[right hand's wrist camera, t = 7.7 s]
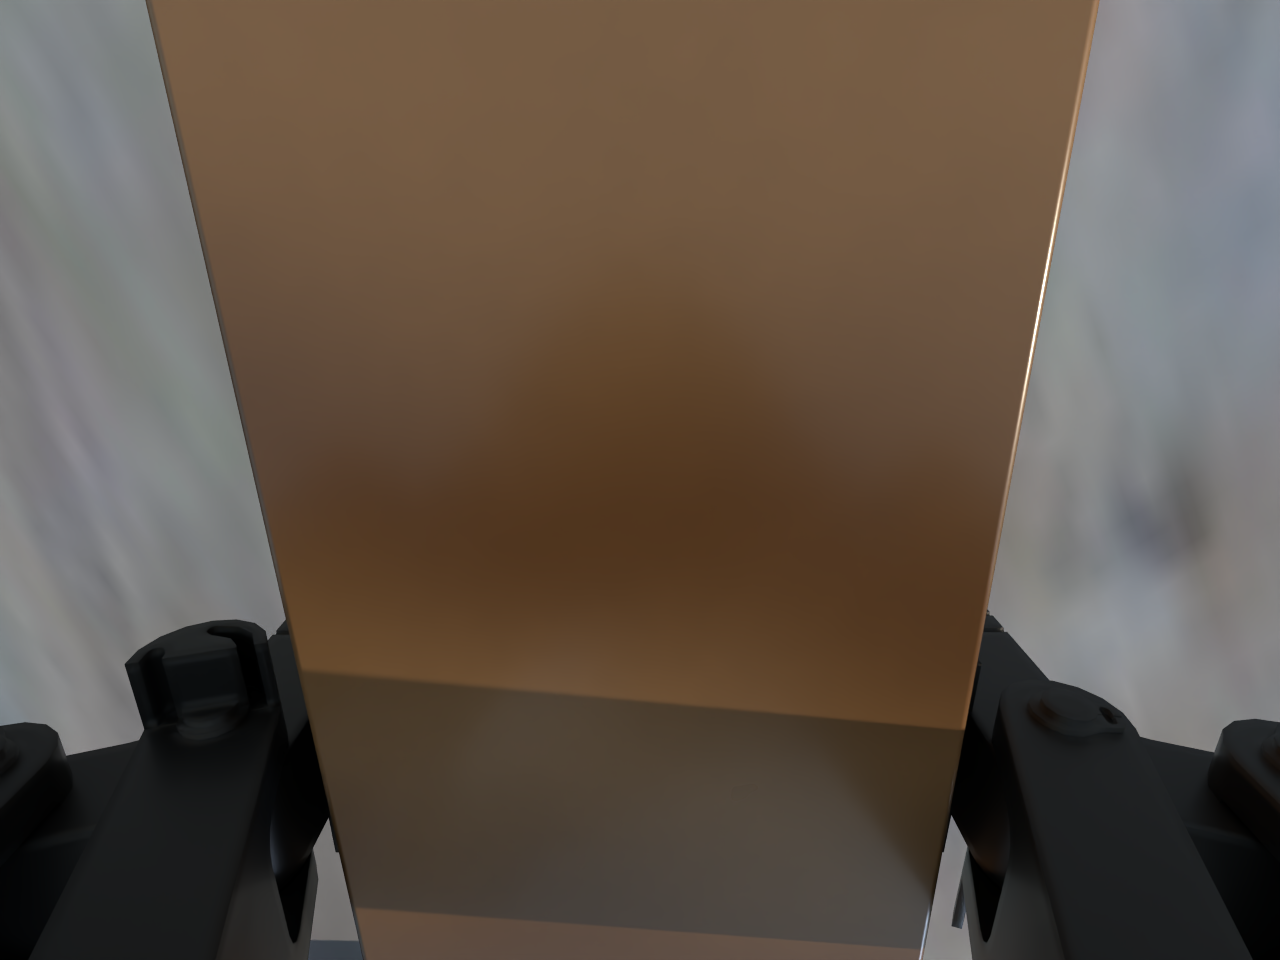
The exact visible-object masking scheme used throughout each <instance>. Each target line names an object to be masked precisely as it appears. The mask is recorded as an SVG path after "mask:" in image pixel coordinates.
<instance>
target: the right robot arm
mask: <svg viewBox="0 0 1280 960" xmlns="http://www.w3.org/2000/svg"><path fill="white" fill-rule="evenodd" d="M125 667H126V671H127V674H128V677H129V680H130V684H131V687H132V690H133V694H134V697H135V700H136V703H137V707H138V710H139V713H140V716H141V720H142V723H143V726H144V732H143V734H142V736H141V738H140V740H138V741H134V742H131V743H126V744H122V745H117V746H112V747H107V748H102V749H97V750H92V751H87V752H83V753H78V754H73V755H68V756H66V754H65V752H64V749H63V746H62V743H61V741H60V738H59V735H58V733H57V732H56V731H55V730H53V729H52V728H50V727H49V726H48V725H46V724H37V723H27V722H24V723H17V724H10V725H4V726H0V960H308V954H309V946H310V939H311V931H312V923H313V916H314V908H315V901H316V893H317V885H318V874H317V866H316V861H315V856H314V852H313V847H314V845H315V843H316V841H317V839H318V837H319V835H320V833H321V831H322V829H323V827H324V825H325V823H326V821H327V819H328V818H329V821H330V826H331V831H332V836H333V841H334V846H335V851H336V852H339V850H338V846H337V841H336V837H335V833H334V828H333V824H332V819H331V815H330V811H329V806H328V802H327V797H326V793H325V788H324V784H323V780H322V775H321V771H320V766H319V762H318V758H317V753H316V749H315V744H314V740H313V736H312V731H311V727H310V722H309V718H308V714H307V709H306V705H305V700H304V696H303V692H302V687H301V683H300V678H299V674H298V670H297V665H296V661H295V656H294V652H293V648H292V643H291V639H290V634H289V630H288V626H287V621H286V620H285V621H284V622H283V624H282V625H281V626H280V627H279V628H278V629H277V633H276V635H272V636H271V637H270V639H269V640H267V636H266V631H265V630H263V629H262V628H261V627H259V626H258V625H257V624H255V623H252V622H247V621H241V620H219V621H210V622H205V623H201V624H196V625H192V626H187V627H184V628H182V629H179V630H176V631H174V632H171V633H169V634H166V635H164V636H161V637H159V638H157V639H156V640H154V641H152V642H151V643H149V644H147V645H146V646H144V647H142V648H141V649H139V650H138V651H137V652H136V653H135V654H134V655H133V656H132V657H131V658H130V659H129V660H128V661H127V662H126V663H125ZM951 815H952V817H953V819H954V821H955V823H956V825H957V826H958V828H959V830H960V832H961V834H962V836H963V838H964V840H965V842H966V844H967V846H968V847H967V852H966V856H965V861H964V865H963V870H962V875H961V879H960V884H959V888H958V893H957V898H956V902H955V907H954V912H953V920H952V926H953V927H957V928H961V929H962V925H963V921H964V917H965V912H966V914H967V922H968V929H969V937H970V944H971V952H972V960H1280V722H1273V721H1266V720H1259V719H1249V720H1240V721H1234V722H1232V723H1231V724H1229V725H1228V726H1227V727H1225V728H1224V729H1223V730H1222V733H1221V736H1220V738H1219V741H1218V744H1217V747H1216V750H1215V752H1209V751H1204V750H1199V749H1194V748H1189V747H1184V746H1179V745H1174V744H1169V743H1165V742H1160V741H1155V740H1150V739H1146V738H1143V737H1140V736H1139V734H1138V732H1137V730H1136V728H1135V727H1134V726H1133V725H1132V724H1131V722H1130V721H1129V720H1128V719H1127V717H1126V716H1125V715H1124V714H1123V713H1122V712H1121V711H1120V710H1118V709H1117V708H1115V707H1114V706H1112V705H1111V704H1110V703H1108V702H1107V701H1105V700H1104V699H1103V698H1100V697H1098V696H1096V695H1094V694H1092V693H1089V692H1087V691H1085V690H1083V689H1080V688H1078V687H1075V686H1071V685H1067V684H1063V683H1059V682H1055V681H1049V679H1048V678H1047V677H1046V676H1045V675H1044V674H1043V673H1042V671H1041V670H1040V669H1039V668H1038V667H1037V666H1036V665H1035V663H1034V662H1033V661H1032V660H1031V659H1030V658H1029V657H1028V655H1027V654H1026V653H1025V652H1024V651H1023V650H1022V649H1021V647H1020V646H1019V645H1018V644H1017V643H1016V642H1015V641H1014V639H1013V638H1012V637H1011V636H1010V635H1009V634H1008V632H1004V630H1003V627H1002V626H1001V624H1000V623H999V622H998V621H997V620H996V619H995V618H994V616H990V615H989V611H988V610H987V613H986V618H985V623H984V629H983V634H982V640H981V645H980V651H979V656H978V661H977V667H976V672H975V678H974V683H973V688H972V694H971V699H970V705H969V710H968V716H967V721H966V726H965V732H964V737H963V743H962V748H961V753H960V759H959V764H958V770H957V775H956V781H955V786H954V791H953V797H952V802H951V808H950V813H949V818H948V824H947V829H946V835H945V840H944V846H943V851H942V852H944V848H945V843H946V838H947V833H948V828H949V823H950V819H951Z"/></svg>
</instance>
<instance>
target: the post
mask: <svg viewBox="0 0 1280 960" xmlns="http://www.w3.org/2000/svg"><path fill="white" fill-rule="evenodd" d="M146 5H147V9H148V13H149V18H150V22H151V27H152V31H153V35H154V40H155V44H156V49H157V53H158V57H159V62H160V66H161V71H162V75H163V80H164V84H165V88H166V93H167V97H168V102H169V106H170V110H171V115H172V119H173V124H174V128H175V132H176V137H177V141H178V146H179V150H180V154H181V159H182V163H183V168H184V172H185V176H186V181H187V185H188V190H189V194H190V198H191V203H192V207H193V212H194V216H195V220H196V225H197V229H198V234H199V238H200V242H201V247H202V251H203V256H204V260H205V264H206V269H207V273H208V278H209V282H210V286H211V291H212V295H213V300H214V304H215V308H216V313H217V317H218V322H219V326H220V331H221V335H222V339H223V344H224V348H225V353H226V357H227V361H228V366H229V370H230V375H231V379H232V383H233V388H234V392H235V397H236V401H237V405H238V410H239V414H240V419H241V423H242V427H243V432H244V436H245V441H246V445H247V449H248V454H249V458H250V463H251V467H252V471H253V476H254V480H255V485H256V489H257V493H258V498H259V502H260V507H261V511H262V515H263V520H264V524H265V529H266V533H267V537H268V542H269V546H270V551H271V555H272V559H273V564H274V568H275V573H276V577H277V582H278V586H279V590H280V595H281V599H282V604H283V608H284V612H285V617H286V621H287V626H288V630H289V634H290V639H291V643H292V648H293V652H294V656H295V661H296V665H297V670H298V674H299V678H300V683H301V687H302V692H303V696H304V700H305V705H306V709H307V714H308V718H309V722H310V727H311V731H312V736H313V740H314V744H315V749H316V753H317V758H318V762H319V766H320V771H321V775H322V780H323V784H324V788H325V793H326V797H327V802H328V806H329V811H330V815H331V819H332V824H333V828H334V833H335V837H336V841H337V846H338V850H339V855H340V859H341V863H342V868H343V872H344V877H345V881H346V885H347V890H348V894H349V899H350V903H351V907H352V912H353V916H354V921H355V925H356V929H357V934H358V938H359V943H360V947H361V951H362V956H363V960H922V959H923V954H924V948H925V943H926V938H927V932H928V927H929V921H930V916H931V911H932V905H933V900H934V894H935V889H936V883H937V878H938V873H939V867H940V862H941V856H942V851H943V846H944V840H945V835H946V829H947V824H948V818H949V813H950V808H951V802H952V797H953V791H954V786H955V781H956V775H957V770H958V764H959V759H960V753H961V748H962V743H963V737H964V732H965V726H966V721H967V716H968V710H969V705H970V699H971V694H972V688H973V683H974V678H975V672H976V667H977V661H978V656H979V651H980V645H981V640H982V634H983V629H984V623H985V618H986V613H987V607H988V602H989V596H990V591H991V586H992V580H993V575H994V569H995V564H996V558H997V553H998V548H999V542H1000V537H1001V531H1002V526H1003V520H1004V515H1005V510H1006V504H1007V499H1008V493H1009V488H1010V483H1011V477H1012V472H1013V466H1014V461H1015V455H1016V450H1017V445H1018V439H1019V434H1020V428H1021V423H1022V418H1023V412H1024V407H1025V401H1026V396H1027V390H1028V385H1029V380H1030V374H1031V369H1032V363H1033V358H1034V353H1035V347H1036V342H1037V336H1038V331H1039V325H1040V320H1041V315H1042V309H1043V304H1044V298H1045V293H1046V288H1047V282H1048V277H1049V271H1050V266H1051V260H1052V255H1053V250H1054V244H1055V239H1056V233H1057V228H1058V223H1059V217H1060V212H1061V206H1062V201H1063V195H1064V190H1065V185H1066V179H1067V174H1068V168H1069V163H1070V158H1071V152H1072V147H1073V141H1074V136H1075V130H1076V125H1077V120H1078V114H1079V109H1080V103H1081V98H1082V92H1083V87H1084V82H1085V76H1086V71H1087V65H1088V60H1089V55H1090V49H1091V44H1092V38H1093V33H1094V27H1095V22H1096V17H1097V11H1098V6H1099V0H146Z"/></svg>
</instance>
